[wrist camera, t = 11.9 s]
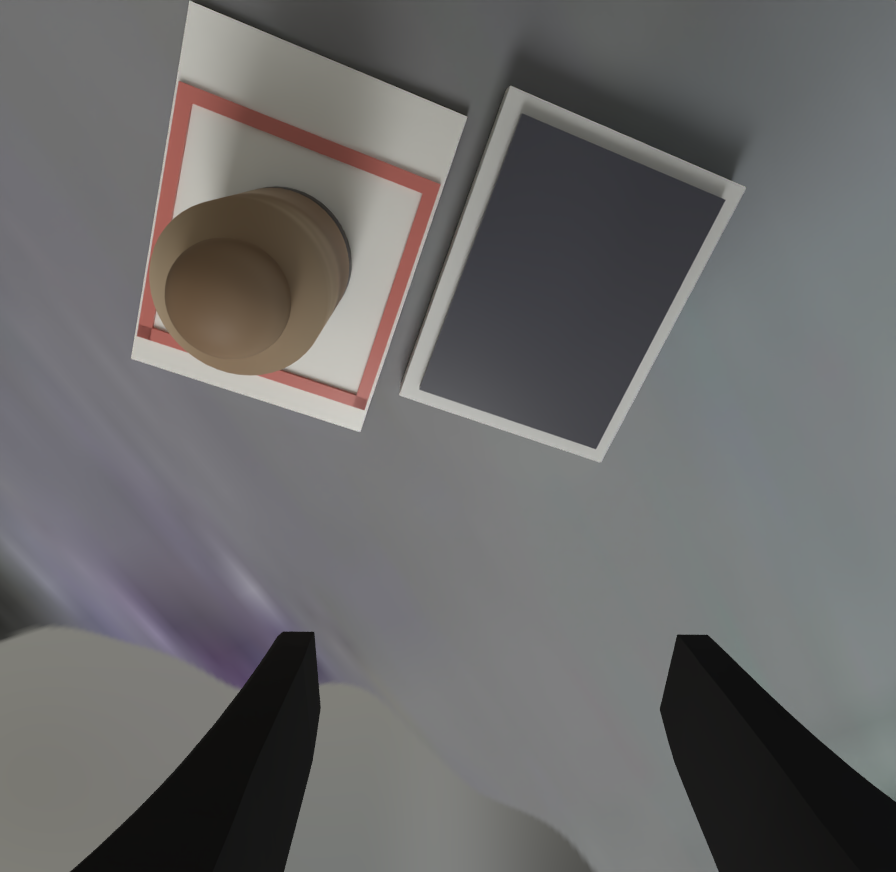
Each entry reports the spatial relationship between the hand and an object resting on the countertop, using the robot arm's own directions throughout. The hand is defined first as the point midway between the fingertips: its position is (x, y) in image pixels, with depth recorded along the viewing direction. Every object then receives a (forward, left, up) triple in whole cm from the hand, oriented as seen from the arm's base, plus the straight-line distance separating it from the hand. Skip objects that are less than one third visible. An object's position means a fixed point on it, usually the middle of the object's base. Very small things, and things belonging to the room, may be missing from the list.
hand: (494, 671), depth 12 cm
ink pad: (0, -6, -10) cm, 12 cm away
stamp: (+8, -4, -10) cm, 13 cm away
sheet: (+8, -5, -10) cm, 13 cm away
